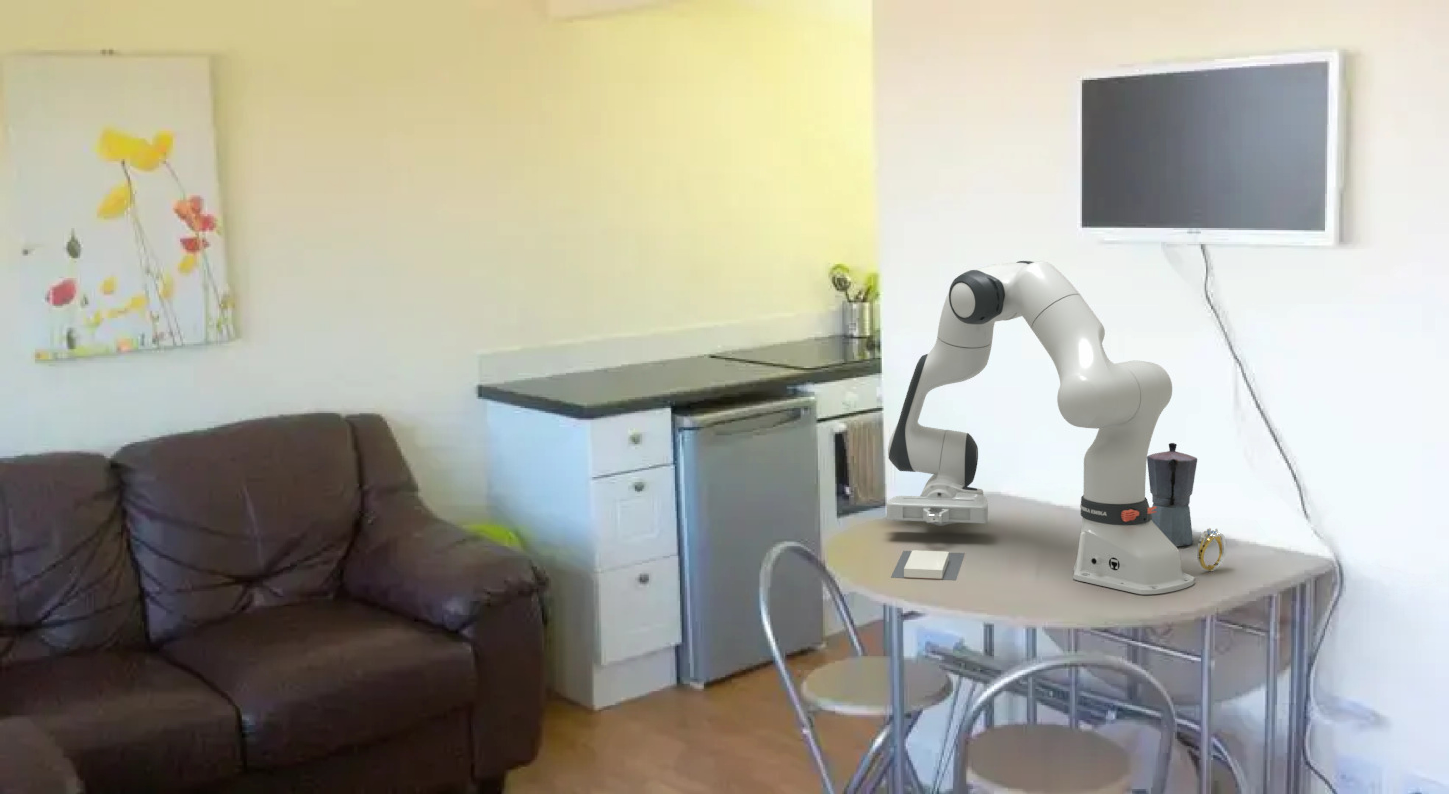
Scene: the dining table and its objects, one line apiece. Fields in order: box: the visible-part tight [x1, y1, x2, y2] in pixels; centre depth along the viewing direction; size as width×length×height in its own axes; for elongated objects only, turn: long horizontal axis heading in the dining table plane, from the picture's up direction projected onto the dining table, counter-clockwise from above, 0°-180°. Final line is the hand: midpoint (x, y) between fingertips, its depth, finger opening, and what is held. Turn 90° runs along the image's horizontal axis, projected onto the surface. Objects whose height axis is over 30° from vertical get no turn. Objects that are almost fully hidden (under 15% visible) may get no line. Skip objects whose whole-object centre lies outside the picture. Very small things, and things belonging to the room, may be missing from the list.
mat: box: [890, 550, 966, 581], centre depth 291 cm, size 19×12×1 cm, turn 166°
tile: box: [904, 549, 950, 580], centre depth 288 cm, size 2×7×13 cm
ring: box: [1196, 527, 1227, 572], centre depth 283 cm, size 7×3×8 cm, turn 119°
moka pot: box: [1146, 442, 1198, 547], centre depth 302 cm, size 10×15×20 cm, turn 170°
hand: (933, 519), depth 301 cm, fingers closed
